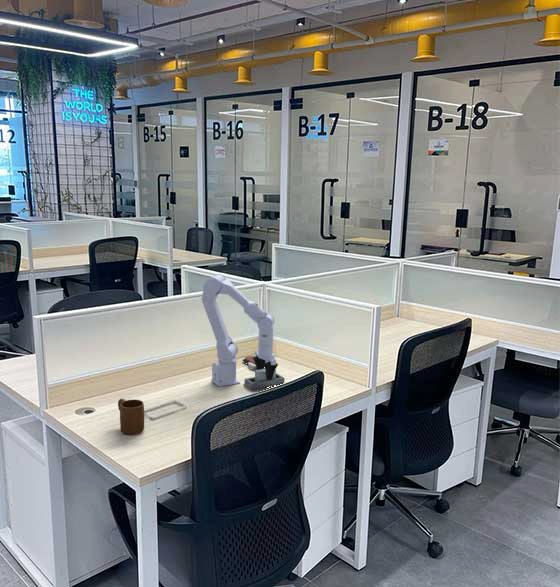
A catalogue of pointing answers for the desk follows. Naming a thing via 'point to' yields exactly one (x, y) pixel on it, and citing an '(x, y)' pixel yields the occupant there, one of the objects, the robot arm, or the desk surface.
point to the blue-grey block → (262, 375)
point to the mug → (131, 416)
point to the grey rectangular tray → (263, 383)
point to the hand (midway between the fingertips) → (264, 376)
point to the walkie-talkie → (251, 362)
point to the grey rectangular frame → (166, 412)
